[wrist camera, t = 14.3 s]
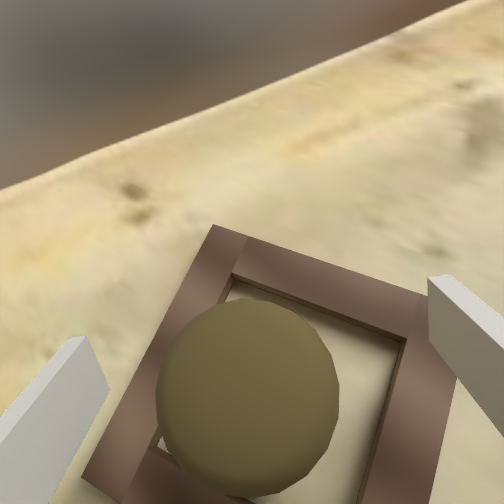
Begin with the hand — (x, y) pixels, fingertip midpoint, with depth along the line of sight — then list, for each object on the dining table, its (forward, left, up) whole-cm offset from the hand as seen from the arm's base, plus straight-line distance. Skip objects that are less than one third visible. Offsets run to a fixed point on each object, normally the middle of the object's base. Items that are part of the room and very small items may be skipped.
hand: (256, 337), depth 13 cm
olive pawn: (+2, +1, -7) cm, 7 cm away
